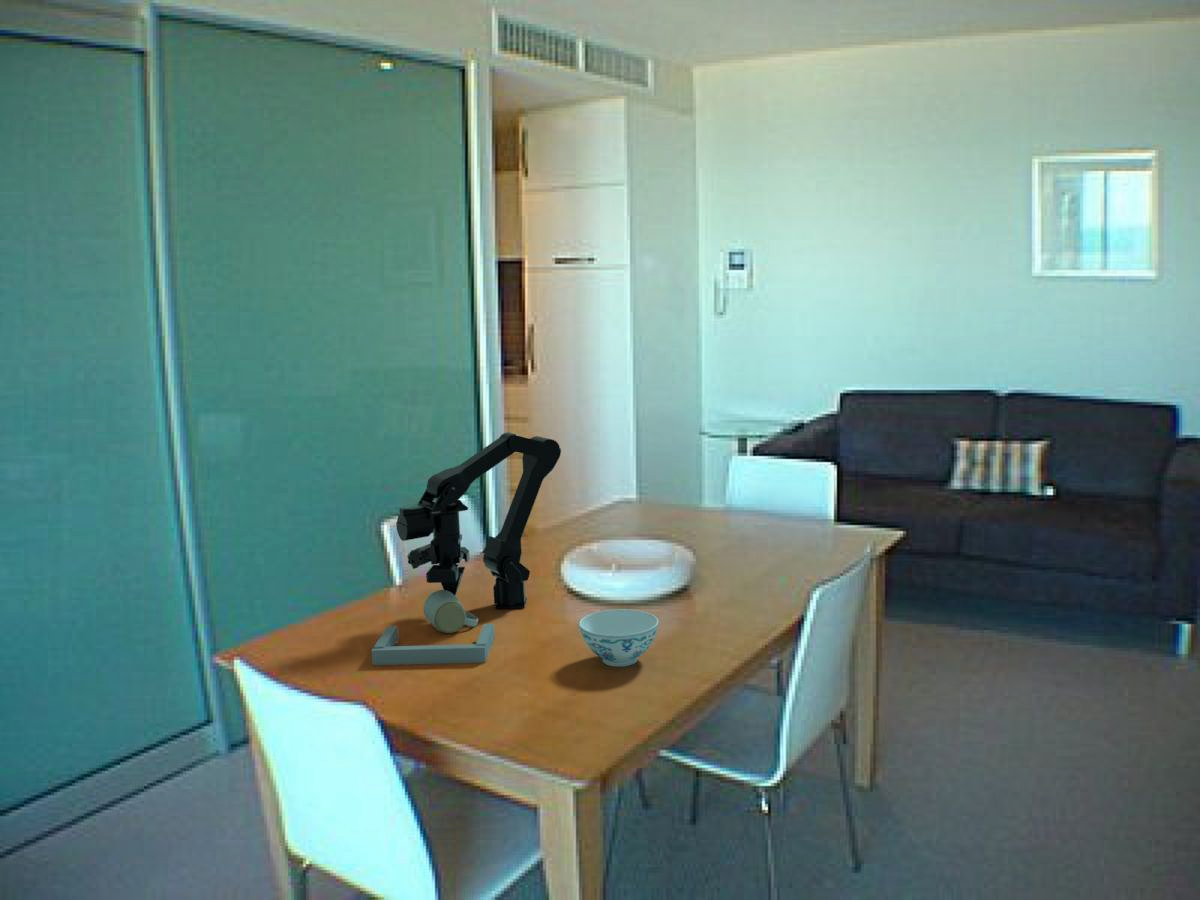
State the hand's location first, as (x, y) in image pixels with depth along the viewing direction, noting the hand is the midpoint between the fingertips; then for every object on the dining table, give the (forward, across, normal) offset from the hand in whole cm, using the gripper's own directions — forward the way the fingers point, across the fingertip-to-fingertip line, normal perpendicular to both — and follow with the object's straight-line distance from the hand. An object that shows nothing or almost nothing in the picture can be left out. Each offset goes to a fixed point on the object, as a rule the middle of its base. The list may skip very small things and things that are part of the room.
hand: (450, 602), depth 235 cm
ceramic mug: (+4, +6, +1) cm, 7 cm away
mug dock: (+4, +20, 0) cm, 20 cm away
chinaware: (+4, +27, +37) cm, 46 cm away
